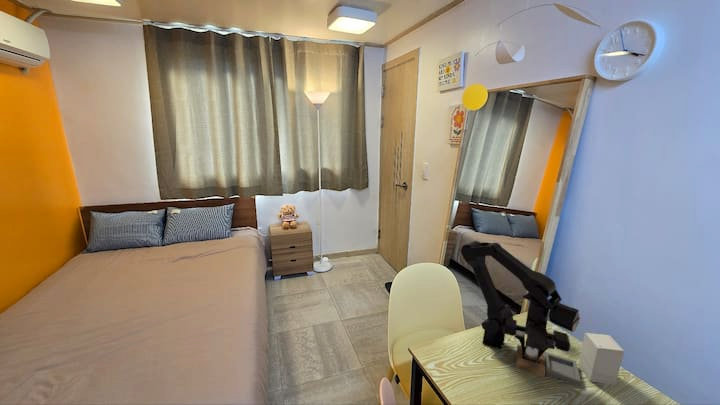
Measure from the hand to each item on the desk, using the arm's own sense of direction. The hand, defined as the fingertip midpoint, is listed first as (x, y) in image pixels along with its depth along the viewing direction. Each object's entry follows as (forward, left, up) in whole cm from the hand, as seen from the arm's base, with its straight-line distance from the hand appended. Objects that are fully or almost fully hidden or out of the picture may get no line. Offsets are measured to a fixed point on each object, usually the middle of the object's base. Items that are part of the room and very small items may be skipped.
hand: (530, 354), depth 98 cm
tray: (+9, +1, -4) cm, 10 cm away
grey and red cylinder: (0, 0, -4) cm, 4 cm away
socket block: (0, 0, -4) cm, 4 cm away
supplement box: (+19, +5, -4) cm, 20 cm away
